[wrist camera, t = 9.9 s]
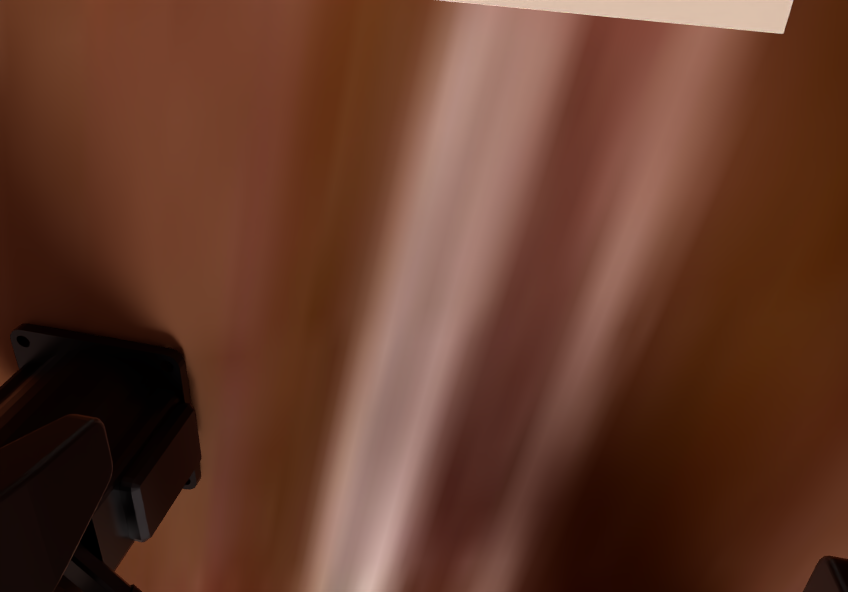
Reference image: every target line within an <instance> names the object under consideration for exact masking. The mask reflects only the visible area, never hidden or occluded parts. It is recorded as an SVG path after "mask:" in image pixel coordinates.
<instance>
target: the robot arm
mask: <svg viewBox="0 0 848 592" xmlns="http://www.w3.org/2000/svg"><path fill="white" fill-rule="evenodd" d="M10 337H11V342H12V346H13V349H14V353H15V356H16V360H17V363H18V367H19V370H18V371H17V372H16V373H15V374H14V375H13V376H12V377H11V378H9V379H8V380H7V381H6V382H5V383H4V384H3V385H2V386H1V387H0V592H142V591H141V590H140V589H138V588H137V587H136V586H135V585H134V584H133V585H129V584H128V583H127V582H126V581H124V580H123V579H122V578H121V577H120V576H119V575H118V574H116V573H115V572H114V571H115V570H116V568H117V567H118V565H119V564H120V562H121V561H122V559H123V558H124V556H125V555H126V553H127V552H128V550H129V549H130V547H131V546H132V544H133V543H134V541H139V542H145V541H147V540H148V539H149V538H151V537H152V535H153V534H154V532H155V531H156V529H157V527H158V526H159V524H160V523H161V521H162V520H163V518H164V517H165V515H166V513H167V512H168V510H169V509H170V507H171V506H172V504H173V503H174V501H175V499H176V498H177V496H178V495H179V493H180V492H181V490H182V489H193V488H195V486H196V485H197V483H198V482H199V480H200V479H201V471H200V464H199V462H200V460H201V450H200V443H199V436H198V429H197V421H196V414H195V410H194V408H193V406H192V404H191V399H190V392H189V385H188V378H187V371H186V364H185V360H184V357H183V356H182V355H181V354H180V353H179V352H178V351H176V350H174V349H171V348H166V347H160V346H154V345H148V344H143V343H137V342H131V341H125V340H119V339H113V338H107V337H102V336H96V335H90V334H84V333H78V332H72V331H66V330H61V329H55V328H49V327H43V326H37V325H31V324H21V325H20V326H18V327H17V328H16V329H15V330H14V331H12V333H11V335H10ZM166 361H168V362H170V363H171V364H172V365H170V364H169V363H167V362H166ZM803 592H848V559H844V558H839V557H833V556H824V557H822V558H821V559H820V560H819V562H818V563H817V565H816V567H815V569H814V571H813V573H812V575H811V577H810V579H809V581H808V583H807V585H806V587H805V589H804V591H803Z"/></svg>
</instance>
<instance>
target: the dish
mask: <svg viewBox="0 0 848 592" xmlns="http://www.w3.org/2000/svg"><path fill="white" fill-rule="evenodd" d="M441 1H451V2H461V3H472V4H482V5H492V6H502V7H513V8H523V9H533V10H543V11H554V12H564V13H574V14H584V15H595V16H605V17H615V18H626V19H636V20H646V21H656V22H667V23H677V24H687V25H697V26H708V27H718V28H728V29H738V30H749V31H759V32H769V33H779V34H783V33H784V30H785V26H786V23H787V20H788V16H789V13H790V10H791V6H792V3H793V0H441Z"/></svg>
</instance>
